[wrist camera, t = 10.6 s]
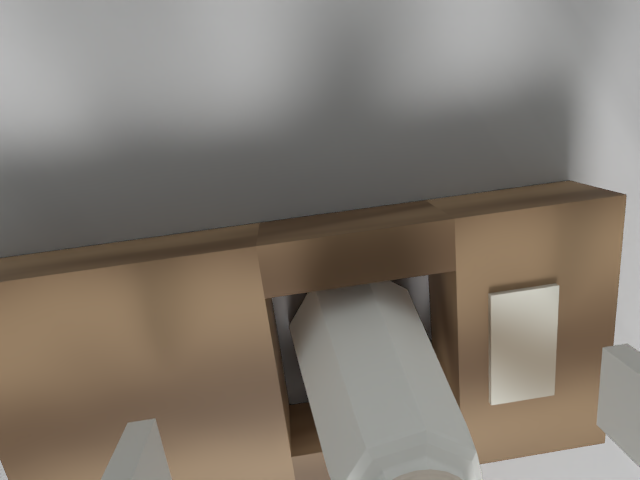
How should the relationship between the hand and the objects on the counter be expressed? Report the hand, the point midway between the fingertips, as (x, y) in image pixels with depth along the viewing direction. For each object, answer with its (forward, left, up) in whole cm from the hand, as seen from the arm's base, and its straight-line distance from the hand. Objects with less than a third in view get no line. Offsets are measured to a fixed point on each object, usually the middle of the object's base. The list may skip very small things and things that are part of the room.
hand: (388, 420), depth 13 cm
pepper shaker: (0, 0, -6) cm, 6 cm away
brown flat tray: (0, -2, -6) cm, 6 cm away
